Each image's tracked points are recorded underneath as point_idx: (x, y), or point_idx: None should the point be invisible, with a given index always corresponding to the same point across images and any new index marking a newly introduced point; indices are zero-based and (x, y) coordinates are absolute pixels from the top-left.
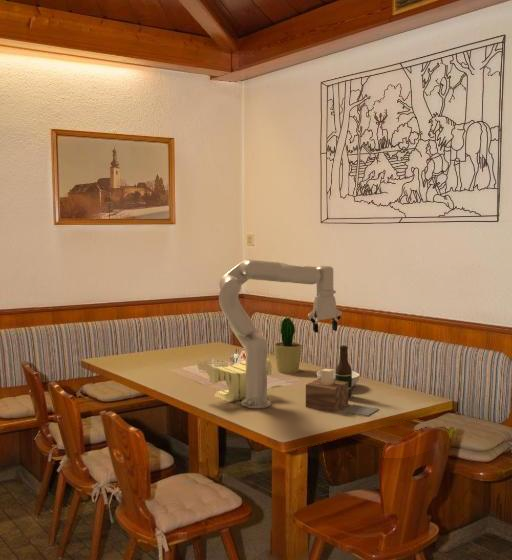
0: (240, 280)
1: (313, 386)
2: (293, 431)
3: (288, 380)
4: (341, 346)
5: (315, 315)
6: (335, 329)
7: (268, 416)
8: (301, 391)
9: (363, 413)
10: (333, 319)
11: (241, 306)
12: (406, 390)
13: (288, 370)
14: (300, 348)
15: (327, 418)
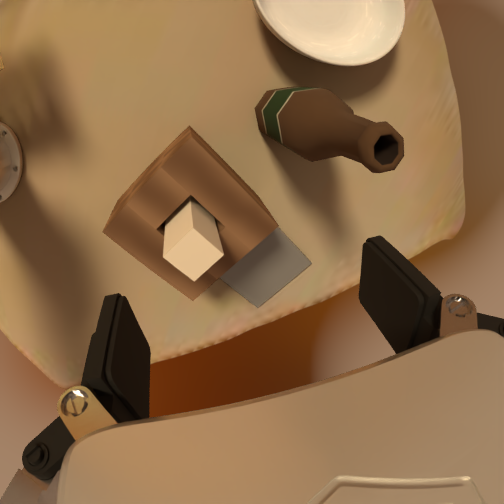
0: None
1: (128, 251)
2: (75, 357)
3: None
4: (370, 154)
5: (113, 468)
6: (364, 307)
7: (19, 267)
8: (162, 11)
9: (254, 294)
10: (443, 334)
11: None
12: (454, 124)
13: None
14: None
15: (155, 305)
